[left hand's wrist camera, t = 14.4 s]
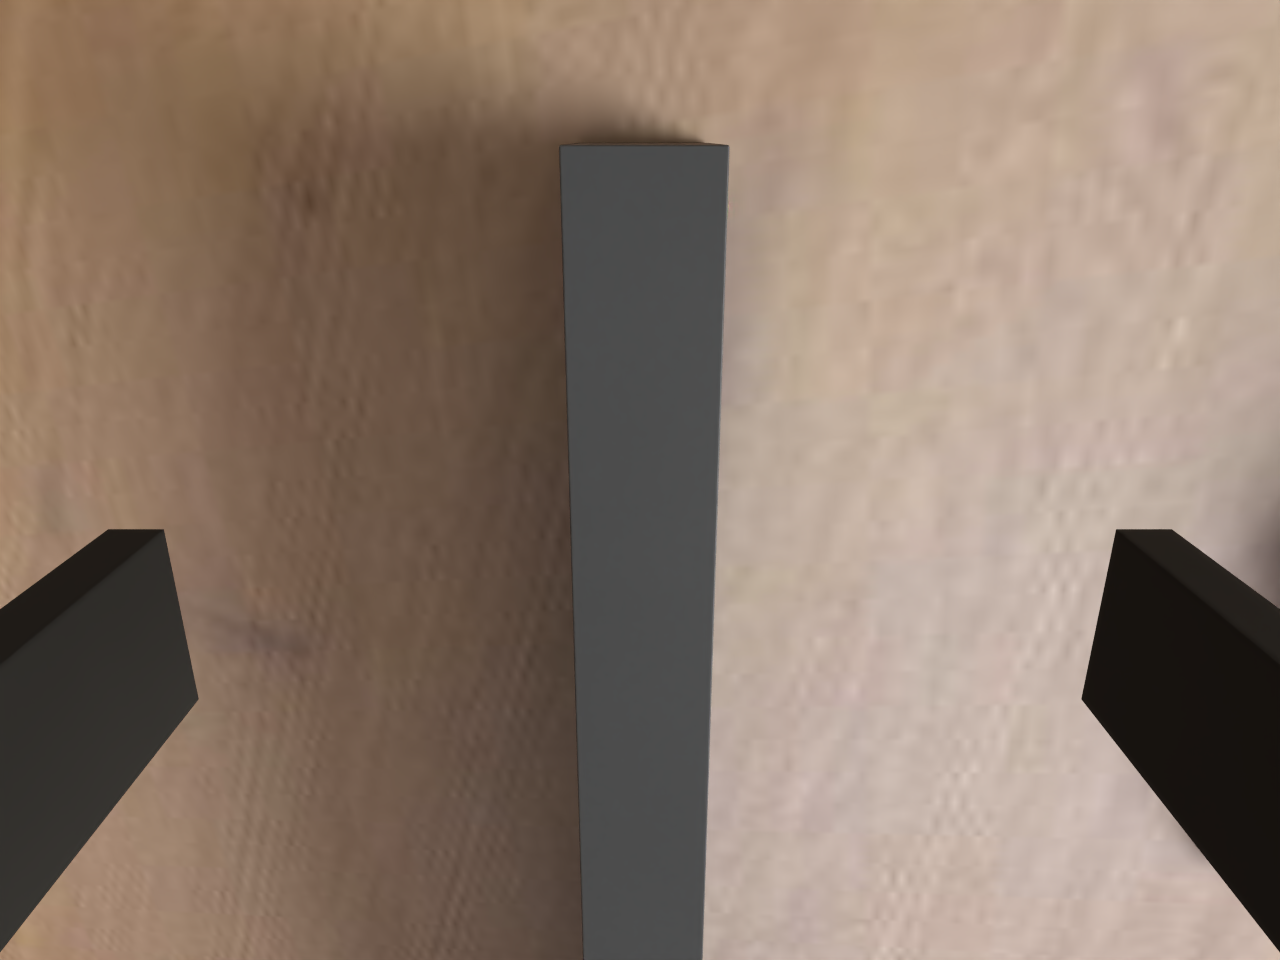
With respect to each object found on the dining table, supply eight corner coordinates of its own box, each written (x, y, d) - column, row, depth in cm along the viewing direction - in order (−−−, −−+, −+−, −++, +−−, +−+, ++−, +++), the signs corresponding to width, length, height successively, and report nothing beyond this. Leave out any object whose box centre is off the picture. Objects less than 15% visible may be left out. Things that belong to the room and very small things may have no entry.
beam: (576, 142, 33) (558, 145, 25) (709, 142, 33) (729, 145, 25) (601, 1237, 55) (596, 1404, 48) (681, 1237, 55) (687, 1404, 48)
